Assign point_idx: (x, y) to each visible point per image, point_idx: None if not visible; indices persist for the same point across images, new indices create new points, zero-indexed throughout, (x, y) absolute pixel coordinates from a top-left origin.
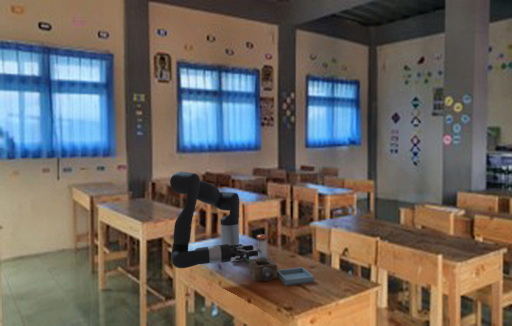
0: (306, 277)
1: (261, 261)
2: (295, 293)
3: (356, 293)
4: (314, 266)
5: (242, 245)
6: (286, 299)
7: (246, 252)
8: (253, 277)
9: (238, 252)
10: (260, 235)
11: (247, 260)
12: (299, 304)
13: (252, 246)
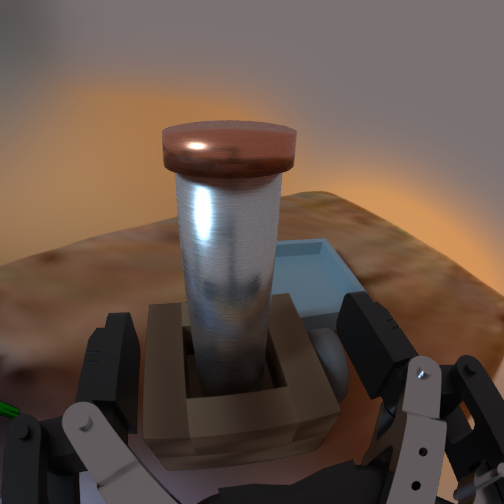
0: (336, 252)
1: (263, 352)
2: (422, 304)
3: (377, 215)
4: (174, 233)
5: (73, 427)
6: (470, 326)
7: (437, 393)
8: (282, 454)
9: (442, 500)
10: (214, 130)
11: (1, 412)
12: (480, 301)
13: (129, 322)
